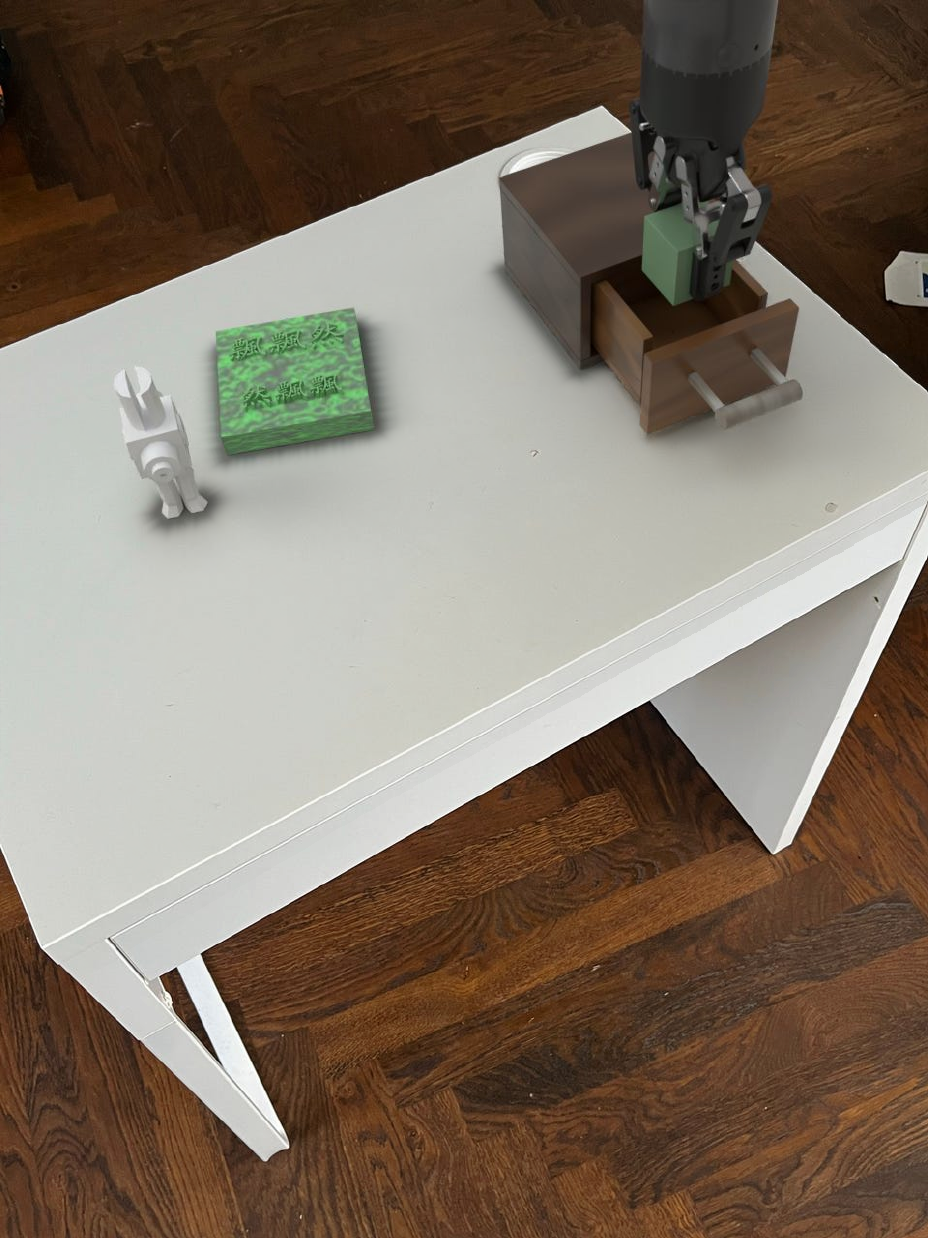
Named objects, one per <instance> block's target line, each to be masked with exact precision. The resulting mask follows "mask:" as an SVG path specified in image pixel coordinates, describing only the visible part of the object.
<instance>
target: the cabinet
mask: <svg viewBox="0 0 928 1238" xmlns="http://www.w3.org/2000/svg"><path fill="white" fill-rule="evenodd" d="M654 154H655V151H653V152H651V153H650V154H649V155H648V162H649V168H651V165H652V161H653V158H654ZM498 185H499V197H500V212H501V231H502V245H503V261H504V271H505V272H506V273H507V275H508V276H509V277H510V278H511V280H512V281H513V283H514V284H515V285H516V287H517V288H518V289H519V290H520V292H521V293H522V294H523V296H524V297H525V298H526V300H527V301H528V303H530V305H531V306H532V308H533V309H534V310H535V311H536V313H537V314H538V316H539V317H540V318H541V320H542V321H543V322H544V324H545V325H546V326H547V328H548V329H549V330H550V331H551V333H552V334H553V336H554V337H555V338H556V340H557V341H558V342H559V344H560V345H561V346H562V347H563V349H564V350H565V351H566V353H567V354H568V355H569V357H570V358H571V359H572V361H573V362H574V363H575V365H576V366H577V367H578V369H580V370H583V369H586V368H588V367H591V366H593V365H596V364H598V363H601V362H605V360H604V359H603V358H602V357H601V355H600V354H599V353H598V351H597V350H596V349H595V348H594V346H593V345H592V344H591V342H590V337H591V283H593V282H596V281H599V280H601V279H604V278H607V277H610V276H612V275H615V274H618V273H621V272H623V271H626V270H629V269H632V268H634V267H637V266H640V265H642V254H643V235H644V217H645V216H646V215H649V214H652V213H654V211H653V210H652V209H651V208H650V206H649V202H648V196H649V191H648V189H647V188H646V189H644V190H641V189H640V188H639V187H638V185H637V182H636V174H635V164H634V154H633V143H632V133H631V132H629V133H625V134H623V135H619V136H617V137H614V138H611V139H607V140H604V141H601V142H599V143H596V144H593V145H590V146H587V147H584V148H581V149H579V150H576V151H575V150H574V151H571V152H569V153H567V154H564V155H561V156H557V157H555V158H552V159H549V160H546V161H544V162H540V163H538V164H534V165H532V166H531V165H530V166H529V167H526V168H523V169H520V170H517V171H514V172H511V173H508V174H506V175H502V176H499V177H498ZM716 201H717V199H716V198H715V199H712V200H709V201H707V202H708V203H709V204H711V203H714V202H716ZM682 202H683V201H682ZM682 202H681V203H682Z"/></svg>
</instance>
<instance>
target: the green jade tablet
mask: <svg viewBox="0 0 928 1238" xmlns="http://www.w3.org/2000/svg"><path fill="white" fill-rule="evenodd" d="M215 343H216V345H215V347H216V366H217V381H218V382H217V383H218V384H217V385H218V403H219V405H218V406H219V421H220V423H219V424H220V437H221V440H222V443H223V447H224V449H225V452H226V454H227V456H231V455H236V454H242V453H249V452H253V451H260V450H266V449H270V448H276V447H282V446H288V445H294V444H299V443H304V442H310V441H316V440H322V439H328V438H333V437H339V436H344V435H349V434H356V433H361V432H367V431H372V430H373V431H374V430H375V424H374V418H373V417H374V416H373V411H372V404H371V399H370V398H371V397H370V393H369V387H368V381H367V374H366V368H365V361H364V357H363V356H364V355H363V350H362V349H363V348H362V343H361V337H360V332H359V325H358V321H357V316H356V310H355V307H353V306H352V307H348V308H342V309H337V310H336V309H335V310H331V311H324V312H318V313H312V314H308V315H301V316H296V317H295V316H294V317H291V318H285V319H284V318H283V319H277V320H272V321H265V322H262V323H256V324H255V323H254V324H249V325H243V326H238V327H232V328H225V329H221V330H215Z"/></svg>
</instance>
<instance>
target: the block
mask: <svg viewBox="0 0 928 1238" xmlns="http://www.w3.org/2000/svg"><path fill="white" fill-rule="evenodd" d="M708 204H709V203H708V202H707V201H706V202H699V208H700V207H703V206H705V205H708ZM717 227H718V220H717V221H714V222H711V223H710V224H709V225H708V228H707V230H708V237H710V236H713V235H715V233H716V230H717ZM693 253H694V247H693V236H692V225H691V224H689V223H687V222H686V221H685V220H684V212H683V203H680V204H677V205H674V206H672V207H669V208H666V209H663V210H660V211H658V212H655V213H652V214H649V215H646V216H645V217H644V235H643V254H642V271H643V272H644V273H645V274H646V276H647V277H648V278H649V279H650V280H651V281H652V282H653V284H654V285H655V286H656V287H657V288H658V289H659V290H660V291H661V293H662V294H663V295H664V296H665V297H666V298H667V299H668V301H669V302H670V303H671V304H672V305H673V306H675V305H678V304H680V303H683V302H686V301H688V300H691V299H693V298H692V296H691V295H690V294H689V290H690V279H691V268H692V258H693ZM732 262H733V261H731V262H728V263H726V271H725V275H724V276H725V279H724V287H726V286H728V285H730V278H731V270H732Z"/></svg>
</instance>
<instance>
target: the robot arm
mask: <svg viewBox="0 0 928 1238" xmlns="http://www.w3.org/2000/svg"><path fill="white" fill-rule="evenodd" d="M778 5H779V0H643V9H642V11H643V12H642V34H641V57H640V79H639V81H640V82H639V97H637V98H634V99H631V100H629V103H628V110H629V121H630V122H629V123H630V133H632V143H633V154H634V164H635V174H636V182H637V185H638V187H639V188H640V189H641V190H644V189H646V188H647V189H648V191H649V196H648V202H649V206H650V208H651V209H652V210H653V211H654V213H655V212H658V211H660V210H663V209H666V208H669V207H672V206H674V205H677V204H680V203H681V202H682V201H683V202H682V203H683V212H684V220H685V221H686V222H687V223H689V224H691V225H692V236H693V247H694V253H693V258H692V268H691V279H690V290H689V294H690V295H691V296H692V298H693V299H694V300H695V301H701V300H704V299H706V298H709V297H712V296H714V295H717V294H718V293H719V292H721V291H722V289H723V287H724V279H725V276H724V275H725V271H726V263H728V262H731V261H733V260H739V259H741V258H744V257H747V256H749V255H751V253H752V251H753V249H754V245H755V243H756V240H757V239H758V236H759V233H760V230H761V228H762V227H763V223H764V221H765V218H766V216H767V213H768V211H769V208H770V206H771V203H772V201H773V193H772V190H771V187H770V186H769V185H768V184H766V183H763V184H761V185H758V186H754V185H753V183H752V181H751V180H750V178H749V177H748V176H747V174H746V173H745V170H746V166H747V156H746V150H745V137H746V135H747V134H748V132H749V130H750V129H751V127H752V126H753V124H754V123H755V122H756V121H757V120H758V119H759V117H760V115H761V113H762V111H763V109H764V106H765V101H766V100H765V99H766V94H767V85H768V79H769V71H770V65H771V57H772V49H773V41H774V35H775V27H776V20H777V13H778ZM653 151H655V154H654V158H653V161H652V165H651V168H649V162H648V155H649V154H650V153H651V152H653ZM719 197H720V198H719ZM717 198H719V199H718V200H716V199H717ZM712 199H715V200H716V202H714V203H711V204H708V205H705V206H703V207H700V208H699V202H706V201H709V200H712ZM717 220H718V227H717V230H716V233H715V235H713V236H710V237H708V230H707V228H708V225H709V224H710V223H711V222H714V221H717Z"/></svg>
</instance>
